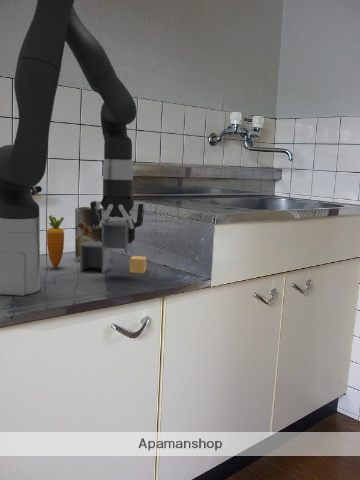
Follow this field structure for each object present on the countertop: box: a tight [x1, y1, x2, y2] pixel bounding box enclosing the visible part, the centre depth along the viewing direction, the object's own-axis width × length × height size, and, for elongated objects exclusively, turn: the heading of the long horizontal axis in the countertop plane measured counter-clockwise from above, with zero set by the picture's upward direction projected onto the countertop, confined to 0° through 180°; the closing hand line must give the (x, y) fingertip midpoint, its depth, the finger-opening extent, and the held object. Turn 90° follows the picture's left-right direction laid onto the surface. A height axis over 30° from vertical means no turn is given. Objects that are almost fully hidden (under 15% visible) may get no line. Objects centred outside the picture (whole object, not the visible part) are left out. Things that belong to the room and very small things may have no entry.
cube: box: [129, 255, 147, 274], centre depth 138 cm, size 4×4×4 cm
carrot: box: [46, 214, 65, 269], centre depth 137 cm, size 5×5×15 cm
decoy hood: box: [79, 241, 110, 274], centre depth 138 cm, size 6×6×8 cm
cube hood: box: [102, 219, 133, 254], centre depth 128 cm, size 6×6×8 cm
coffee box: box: [74, 206, 111, 262], centre depth 149 cm, size 9×6×16 cm
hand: (117, 241), depth 128 cm, fingers closed on cube hood, 6 cm apart
